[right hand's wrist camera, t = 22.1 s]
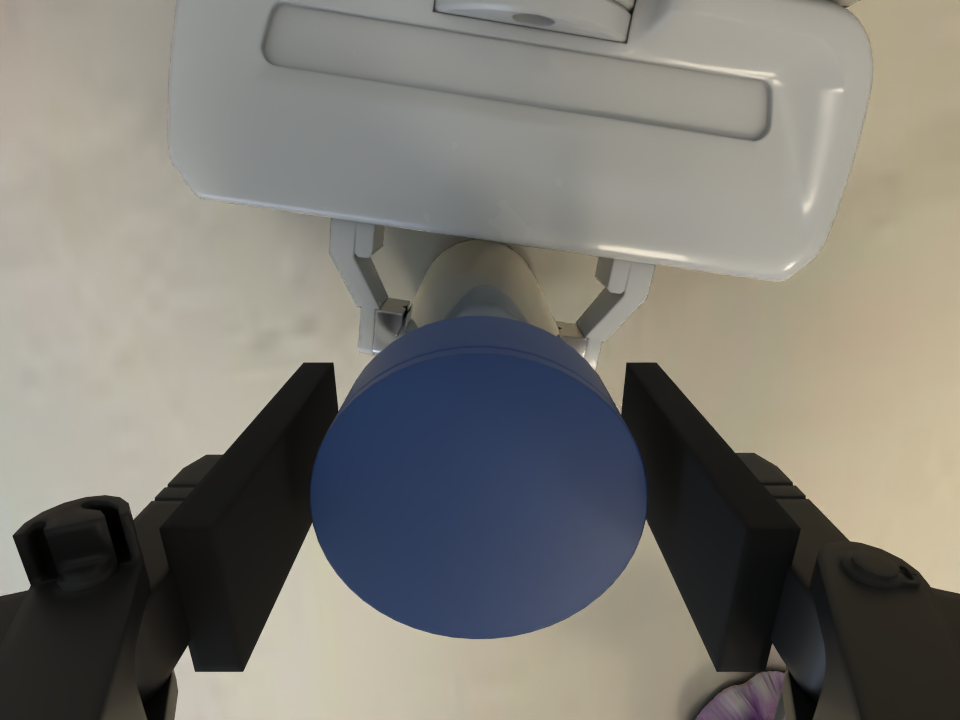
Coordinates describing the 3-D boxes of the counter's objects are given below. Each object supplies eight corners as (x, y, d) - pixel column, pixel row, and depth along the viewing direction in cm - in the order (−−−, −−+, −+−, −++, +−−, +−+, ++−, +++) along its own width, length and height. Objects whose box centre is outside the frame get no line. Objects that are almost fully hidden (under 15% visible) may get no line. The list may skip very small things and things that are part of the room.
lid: (599, 562, 13) (624, 644, 11) (346, 554, 13) (319, 634, 11) (636, 320, 11) (675, 360, 9) (333, 308, 11) (295, 345, 9)
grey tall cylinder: (555, 261, 25) (662, 405, 10) (514, 367, 27) (556, 617, 12) (440, 222, 24) (381, 317, 10) (407, 333, 26) (315, 553, 11)
